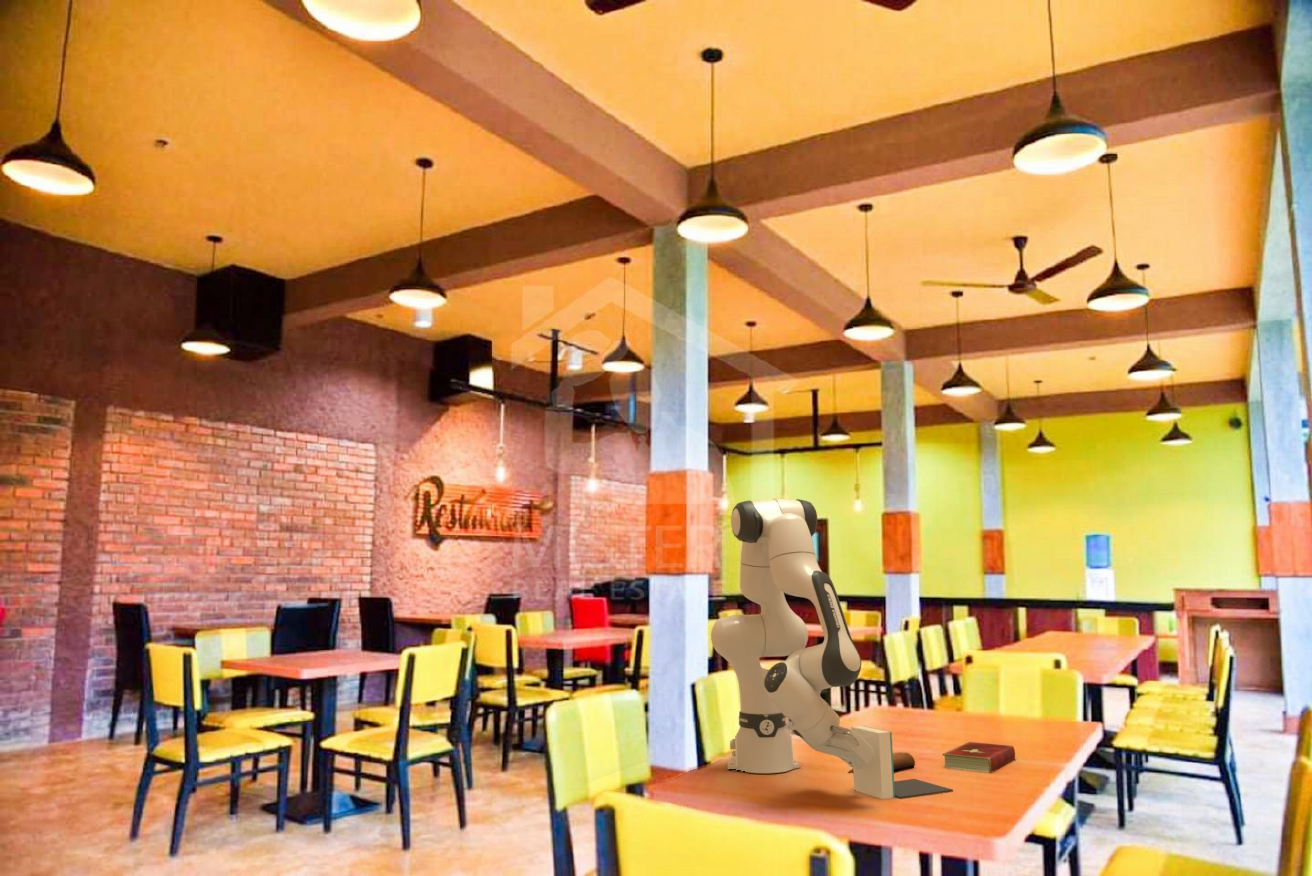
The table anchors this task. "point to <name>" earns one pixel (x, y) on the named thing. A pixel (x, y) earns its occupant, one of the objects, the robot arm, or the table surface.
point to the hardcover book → (979, 756)
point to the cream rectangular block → (876, 764)
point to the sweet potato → (900, 761)
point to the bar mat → (916, 788)
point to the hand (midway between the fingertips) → (857, 766)
